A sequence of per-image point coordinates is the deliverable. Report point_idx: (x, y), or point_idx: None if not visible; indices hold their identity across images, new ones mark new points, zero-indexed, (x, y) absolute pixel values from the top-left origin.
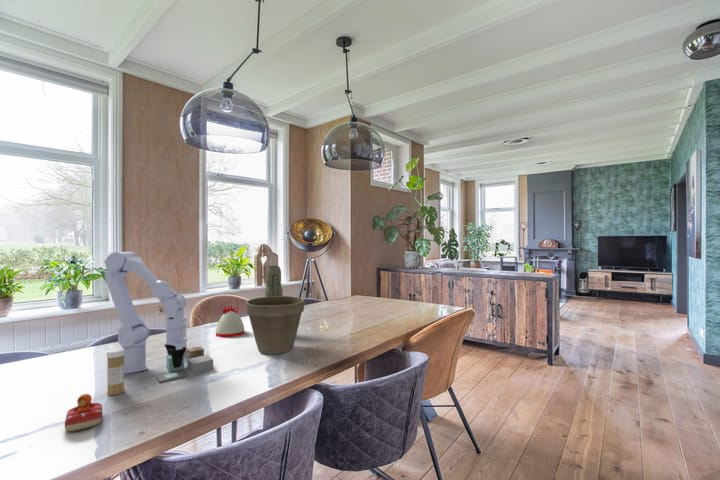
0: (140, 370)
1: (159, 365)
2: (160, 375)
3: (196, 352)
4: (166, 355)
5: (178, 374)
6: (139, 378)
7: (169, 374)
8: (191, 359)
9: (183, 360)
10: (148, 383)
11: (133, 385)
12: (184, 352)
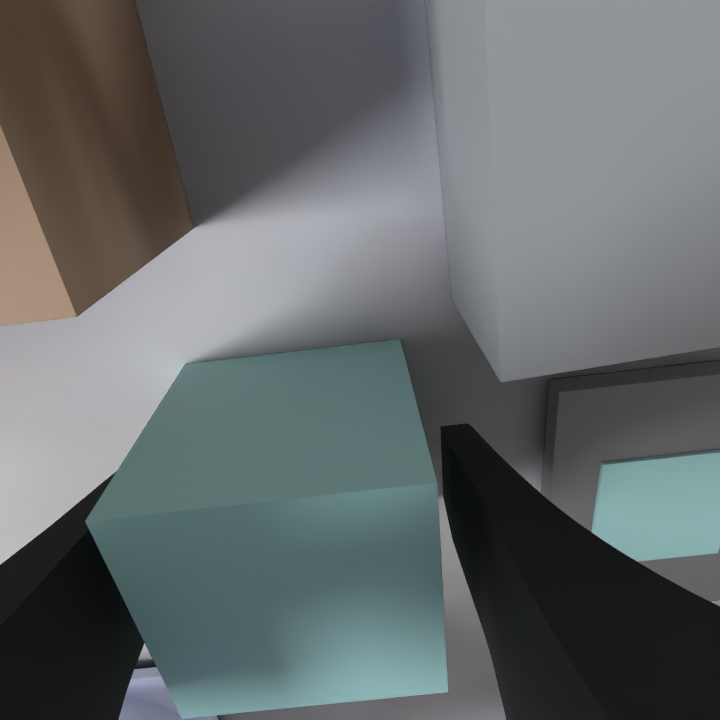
0: None
1: None
2: None
3: (30, 94)
4: (189, 715)
5: (688, 438)
6: (431, 696)
7: (607, 525)
8: (603, 301)
9: (422, 426)
10: None
11: None
12: (712, 603)
